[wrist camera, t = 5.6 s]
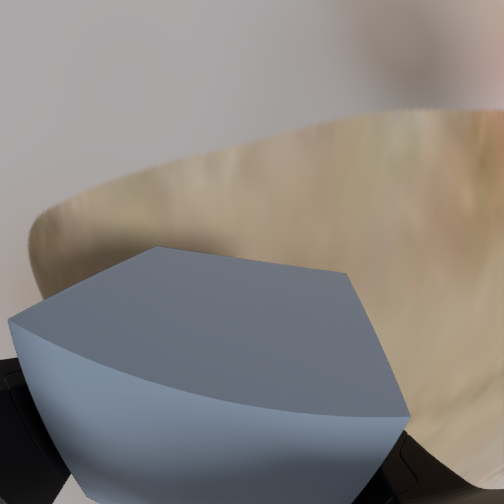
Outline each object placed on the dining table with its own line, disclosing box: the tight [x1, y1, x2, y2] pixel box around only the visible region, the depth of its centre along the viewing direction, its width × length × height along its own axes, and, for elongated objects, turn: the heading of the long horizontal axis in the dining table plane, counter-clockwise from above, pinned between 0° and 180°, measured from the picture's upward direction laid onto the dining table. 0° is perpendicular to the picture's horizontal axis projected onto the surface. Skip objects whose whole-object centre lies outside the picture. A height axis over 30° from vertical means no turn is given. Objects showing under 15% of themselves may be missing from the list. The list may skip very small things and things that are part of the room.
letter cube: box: [8, 246, 411, 504], centre depth 7 cm, size 6×6×6 cm
